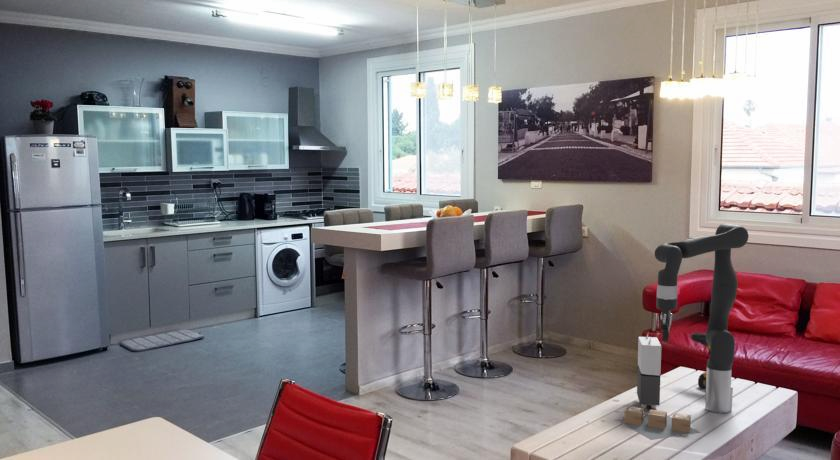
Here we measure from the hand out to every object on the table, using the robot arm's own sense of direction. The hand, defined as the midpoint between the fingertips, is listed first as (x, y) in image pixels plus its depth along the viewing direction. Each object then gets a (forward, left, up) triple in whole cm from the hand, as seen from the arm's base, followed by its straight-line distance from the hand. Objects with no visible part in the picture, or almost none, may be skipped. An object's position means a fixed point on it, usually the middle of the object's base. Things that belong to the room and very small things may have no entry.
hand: (665, 340), depth 281 cm
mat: (+8, +7, -31) cm, 33 cm away
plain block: (+8, +7, -30) cm, 32 cm away
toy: (-4, -15, -31) cm, 35 cm away
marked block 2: (+2, +13, -30) cm, 33 cm away
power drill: (-45, -28, -31) cm, 61 cm away
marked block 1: (+14, +1, -30) cm, 33 cm away
